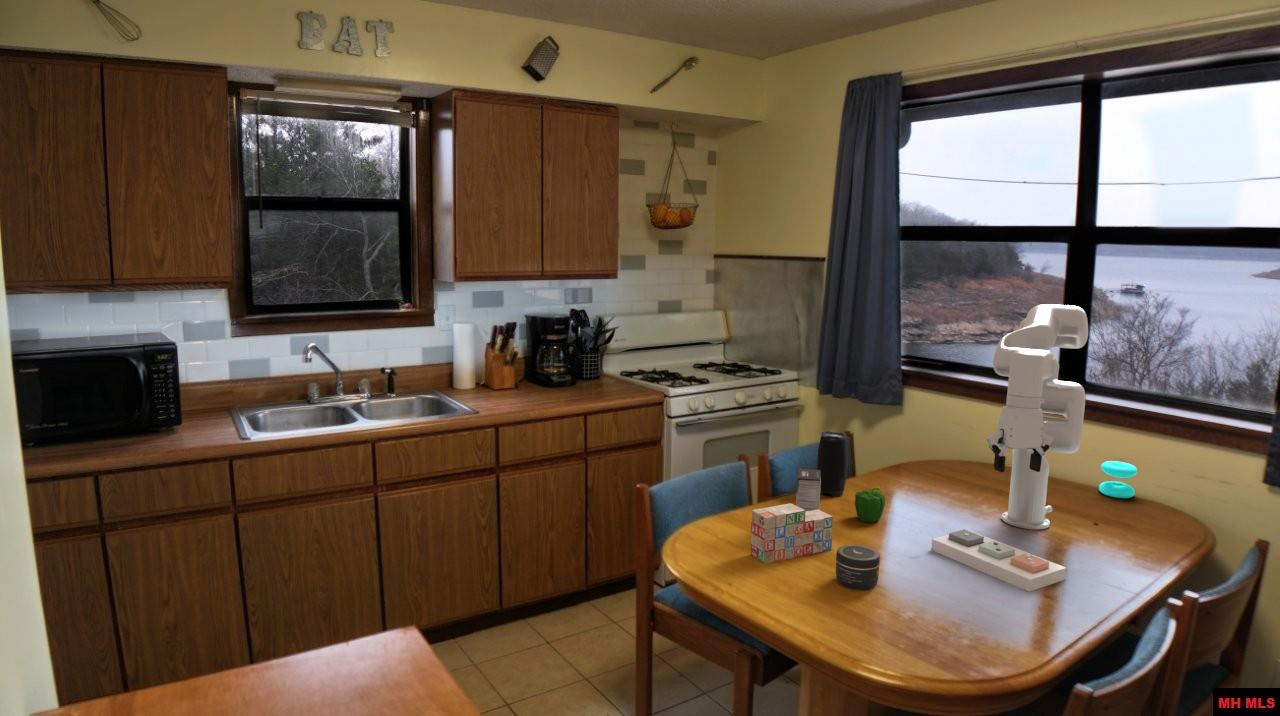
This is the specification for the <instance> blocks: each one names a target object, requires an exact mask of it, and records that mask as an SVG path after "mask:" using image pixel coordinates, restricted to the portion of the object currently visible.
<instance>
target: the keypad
mask: <svg viewBox="0 0 1280 716" xmlns="http://www.w3.org/2000/svg"><path fill="white" fill-rule="evenodd" d="M966 530H967V531H970V532H972V533H975V534H978V535H980V536H983V537H984V542H983V543H982V544H985V543H988V542H992V541H996V542H998V543H1001V544H1004V545H1006V546H1009V547H1011V548H1014V549H1015V556H1019V555H1022V554H1025V553H1027V554H1030V555H1032V556H1035V557H1037V558H1040V559H1043V560H1045V561H1048V562H1049V569H1046V570H1043V571H1040V572H1037V573H1034V574H1033V573H1031V572H1028V571H1026V570H1023V569H1021V568H1018V567H1016V566H1013V565H1011V564H1010V562H1011V558H1012V557H1015V556H1011V557H1008V558H1005V559H1001V560H999V559H996V558H994V557H991V556H989V555H986V554H984V553H981V552H979V551H978V549H979V545H981V544H978V545H975V546H971V547H966V546H964V545H962V544H959V543H957V542H954V541H952V540H949V534H945V535H942V536H938V537H935V538H932V539H931V548H930V549H931V551H933V552H936V553H938V554H940V555H943V556H944V557H948V558H949V559H952V560H954V561H957V562H959V563H961V564H963V565H966V566H968V567H970V568H973V569H974V570H978V571H980V572H982V573H985V574H987V575H989V576H991V577H995V578H996V579H999V580H1001V581H1003V582H1005V583H1008V584H1010V585H1012V586H1014V587H1017V588H1019V589H1022V590H1025V591H1026V592H1032V591H1036V590H1039V589H1041V588H1044V587H1046V586H1050V585H1053V584H1056V583H1059V582H1062V581H1065V580H1066V575H1067V567H1065V566H1063V565H1060V564H1058V563H1055V562H1053V561H1051V560H1048V559H1045V558H1042V557H1040V556H1038V555H1034V554H1032V553H1028V552H1026V551H1024V550H1022V549H1019V548H1017V547H1013V546H1011V545H1009V544H1006V543H1004V542H1000V541H999V540H995V539H993V538H990V537H987V536H985V535H982V534H980V533H977V532H974V531H972V530H969V529H966Z"/></svg>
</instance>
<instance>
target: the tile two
mask: <svg viewBox="0 0 1280 716" xmlns="http://www.w3.org/2000/svg"><path fill="white" fill-rule="evenodd" d="M996 541H997V540H996ZM996 541H992V542H988V543H985V544H981V545H979V549H978V551H979V552H981V553H984V554H986V555H989V556H991V557H994V558H996V559H999V560H1001V559H1005V558H1008V557H1011V556H1015V549H1014V548H1015V547H1014V548H1011V547H1012V546H1011V547H1009V546H1010V545H1009V546H1006V545H1007V544H1006V545H1004V544H1005V543H1003V544H1001V543H1002V542H1001V543H998V542H999V541H998V542H996Z"/></svg>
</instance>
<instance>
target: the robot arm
mask: <svg viewBox="0 0 1280 716" xmlns="http://www.w3.org/2000/svg"><path fill="white" fill-rule="evenodd" d="M1088 322H1089V321H1088V317H1087V313H1086V311H1085V310H1084V309H1083V308H1081V307H1080V306H1076V305H1069V304H1067V305H1066V304H1065V305H1064V304H1050V303H1049V304H1048V303H1047V304H1044V303H1043V304H1037V305H1035V306H1033V307H1032V308H1030V310H1029V311H1028V312H1027V315H1026V318H1023V320H1022V321H1021V322H1020V324H1019V329H1017V330H1014V331H1012V332H1009V333H1007V334H1005V335H1004V336H1003V337H1001V339H1000V340H999V342H998V343H997V346H996V349H995V350H994V354H993V360H992V367H993V370H994V372H995V373H996V374H997V375H998V376H1002V377H1008V381H1007V382H1008V383H1007V394H1006V402H1005V403H1006V405H1003V406H1002V409H1001V411H1000V414H999V416H998V417H999V418H998V421H997V427H996V431H995V432H994V433H992V434H990V435H988V436H986V441H987V443H988V447H989V449H990V450H991V452H992V453H993V454H994V460H993V461H994V462H993V466H994V467H993V468H994V470H995V471H998V472H999V473H1004V472H1005V468H1006V459H1007V458H1006V456H1005V454H1006V453H1007V452H1008V451H1009V450H1011V449H1012V463H1011V474H1010V484H1009V486H1010V487H1009V494H1008V497H1009V498H1008V506H1007V507H1008V508H1007V509H1008V510H1007V511H1004V512H1003V513H1002V514H1001V520H1002V521H1003V522H1004V523H1006V524H1008V525H1010V526H1013V527H1016V528H1020V529H1025V530H1033V531H1034V530H1039V531H1040V530H1045V529H1048V528H1049V527H1050V526H1051V521H1050V520H1049V519H1048V518H1047V517H1046V515H1047V514H1048V513H1052V512H1053V507H1052V505H1046V503H1047V492H1048V483H1049V474H1050V465H1049V462H1048V460H1047V458H1046V456H1045V454H1046V452H1054V453H1059V454H1060V453H1061V454H1062V453H1063V454H1075V453H1077V452H1078V450H1079V449H1080V446H1081V444H1082V443H1081V441H1082V435H1083V427H1084V426H1083V425H1084V417H1085V410H1086V409H1085V408H1086V407H1085V406H1086V392H1085V388H1084V387H1083V385H1081V384H1080V383H1077V382H1074V381H1066V380H1065V381H1064V380H1059V379H1058V378H1059V371H1060V363H1059V361H1058V360H1057V358H1056V357H1055V355H1054V353H1053V352H1052V351H1050V350H1051V349H1052V348H1058V349H1059V348H1060V349H1061V348H1062V349H1077V350H1078V349H1081V348H1083V347H1084V346H1085V345H1086V343H1087V341H1088V337H1089V323H1088ZM1043 413H1045V414H1046V413H1047V414H1055V415H1059V416H1060V415H1061V416H1063V417H1064V418H1061V417H1052V416H1047V415H1044V414H1043Z"/></svg>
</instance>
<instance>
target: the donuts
mask: <svg viewBox="0 0 1280 716" xmlns="http://www.w3.org/2000/svg"><path fill="white" fill-rule="evenodd" d="M1100 469H1101V470H1102V472H1104V474H1106V475H1108V476H1111V477H1115V478H1118V479H1119V478H1120V479H1121V478H1123V479H1129V478H1132V477H1133V478H1134V476H1136V475H1137V474H1138V469H1137V467H1136V466H1135V465H1133V464H1132V463H1131V464H1130V463H1128V462H1122V461H1116V460H1115V461H1114V460H1110V461H1109V460H1108V461H1104V462H1103V463H1101V466H1100ZM1098 490H1099V491H1100V493H1101V494H1103V495H1104V496H1108V497H1112V498H1116V499H1130V498H1132V497H1134V496H1135V493H1136V491H1135V489H1134V488H1133V486H1131V485H1130V484H1128V483H1125V482H1121V481H1115V480H1107V481H1103V482H1101V483H1100V484H1099V485H1098Z"/></svg>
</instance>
